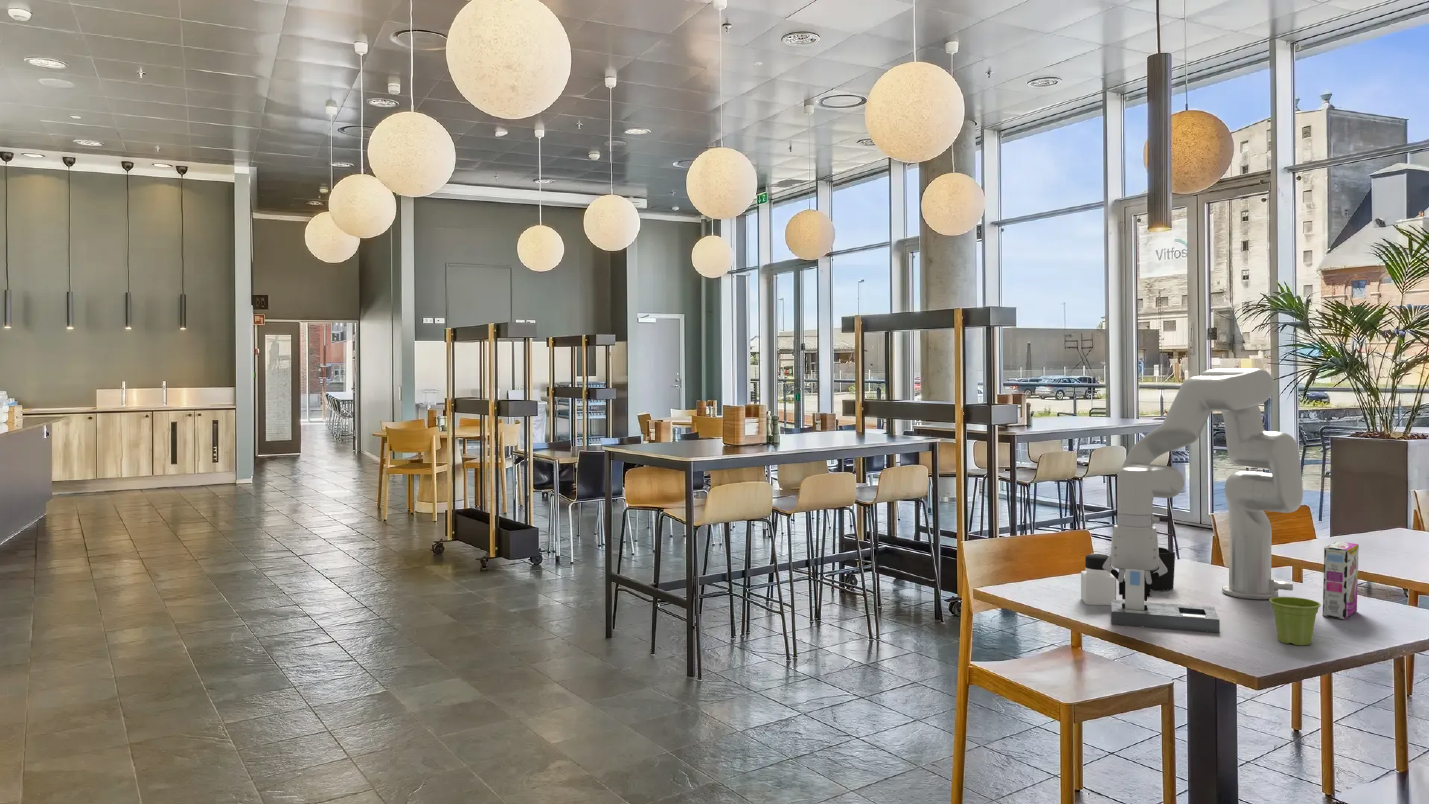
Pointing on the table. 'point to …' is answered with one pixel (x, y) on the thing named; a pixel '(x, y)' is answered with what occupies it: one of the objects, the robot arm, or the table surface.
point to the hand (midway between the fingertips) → (1134, 598)
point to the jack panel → (1167, 616)
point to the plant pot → (1294, 619)
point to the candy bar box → (1340, 580)
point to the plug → (1134, 589)
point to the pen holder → (1168, 578)
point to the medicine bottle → (1097, 581)
